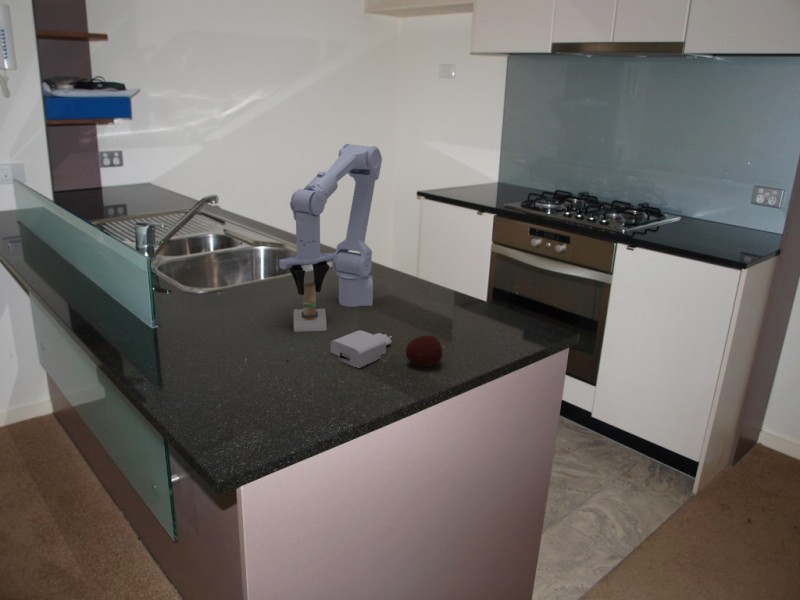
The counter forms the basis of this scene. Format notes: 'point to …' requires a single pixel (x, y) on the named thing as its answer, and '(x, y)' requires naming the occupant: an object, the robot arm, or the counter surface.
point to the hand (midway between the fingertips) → (309, 292)
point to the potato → (424, 351)
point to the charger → (360, 348)
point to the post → (309, 299)
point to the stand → (309, 321)
